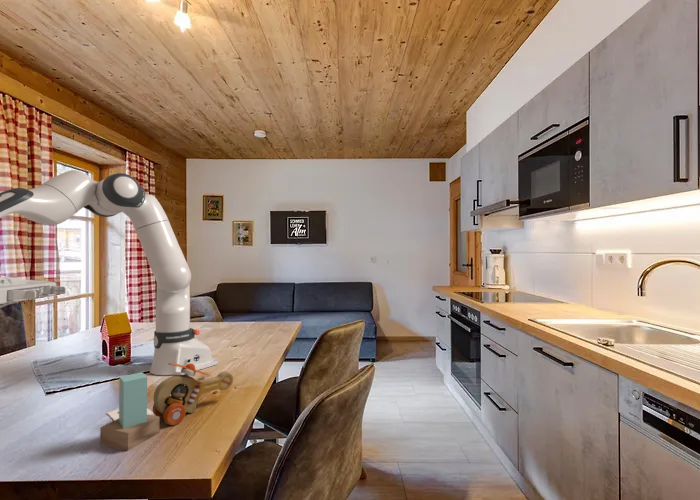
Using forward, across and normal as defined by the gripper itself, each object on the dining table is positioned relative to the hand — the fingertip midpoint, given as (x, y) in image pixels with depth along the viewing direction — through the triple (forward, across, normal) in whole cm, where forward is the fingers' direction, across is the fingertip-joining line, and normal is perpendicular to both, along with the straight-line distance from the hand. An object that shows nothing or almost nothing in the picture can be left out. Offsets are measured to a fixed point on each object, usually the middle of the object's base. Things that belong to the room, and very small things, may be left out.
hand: (51, 292), depth 85 cm
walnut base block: (+22, -8, +32) cm, 40 cm away
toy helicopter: (+32, +4, +32) cm, 45 cm away
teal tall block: (+22, -8, +28) cm, 37 cm away
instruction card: (+17, +4, +32) cm, 36 cm away
